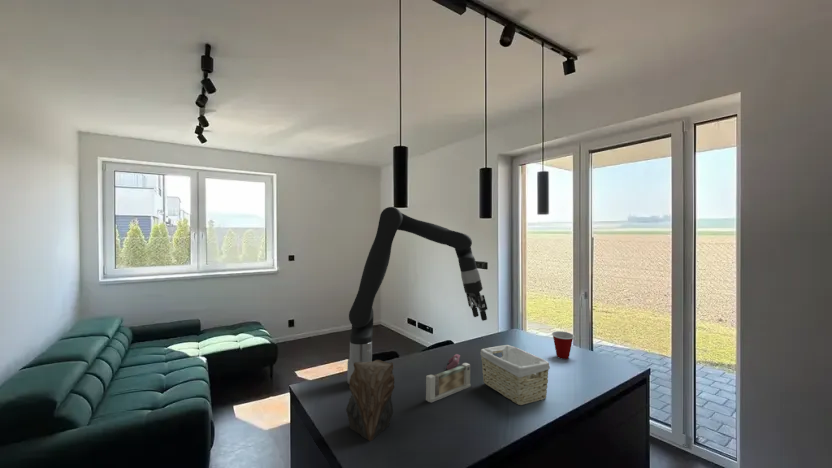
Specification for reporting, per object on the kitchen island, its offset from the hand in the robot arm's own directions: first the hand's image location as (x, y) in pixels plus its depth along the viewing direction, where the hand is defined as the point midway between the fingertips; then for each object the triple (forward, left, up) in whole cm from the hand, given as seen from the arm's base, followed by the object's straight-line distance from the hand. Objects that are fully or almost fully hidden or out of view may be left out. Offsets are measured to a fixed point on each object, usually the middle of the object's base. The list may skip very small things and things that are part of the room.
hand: (480, 318), depth 143 cm
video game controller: (+6, +21, -28) cm, 35 cm away
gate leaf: (-16, +3, -26) cm, 30 cm away
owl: (-54, +1, -28) cm, 61 cm away
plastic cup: (+60, -5, -28) cm, 66 cm away
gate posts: (-16, +3, -27) cm, 32 cm away
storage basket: (+5, -13, -28) cm, 31 cm away
